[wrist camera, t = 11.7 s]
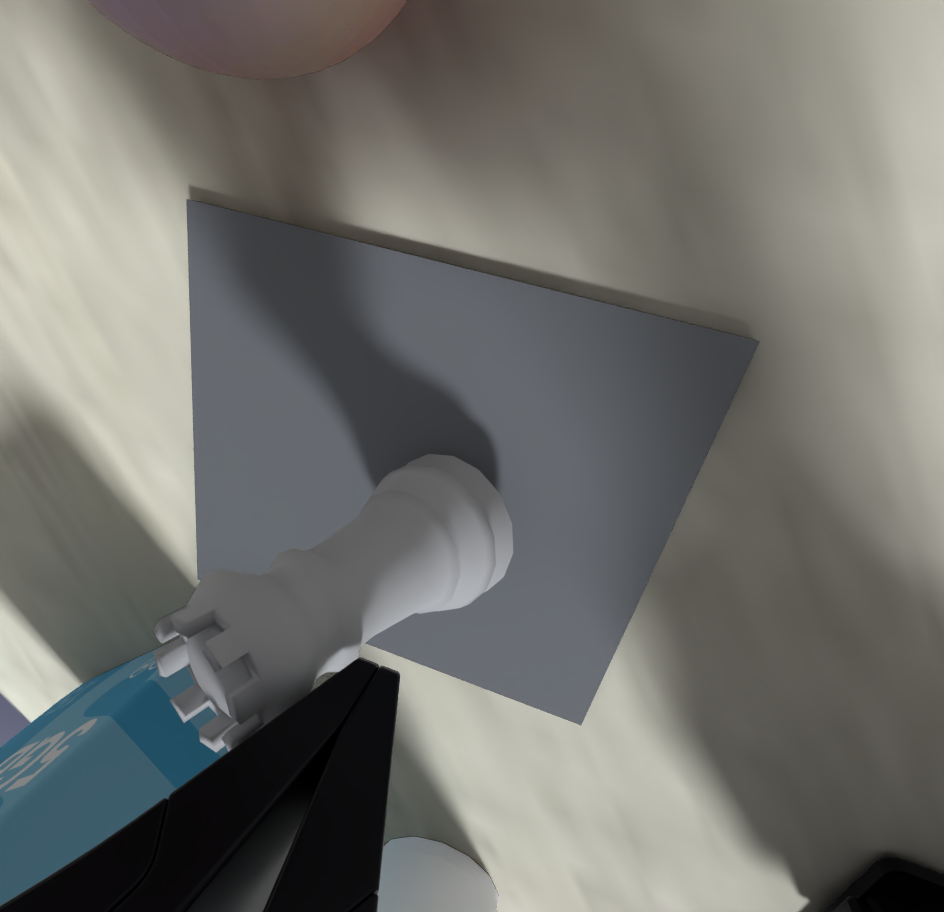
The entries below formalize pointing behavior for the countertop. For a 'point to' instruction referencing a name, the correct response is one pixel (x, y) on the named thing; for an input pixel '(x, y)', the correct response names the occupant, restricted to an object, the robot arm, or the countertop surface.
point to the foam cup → (432, 879)
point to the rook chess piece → (334, 596)
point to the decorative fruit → (254, 32)
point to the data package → (93, 768)
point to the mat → (448, 432)
